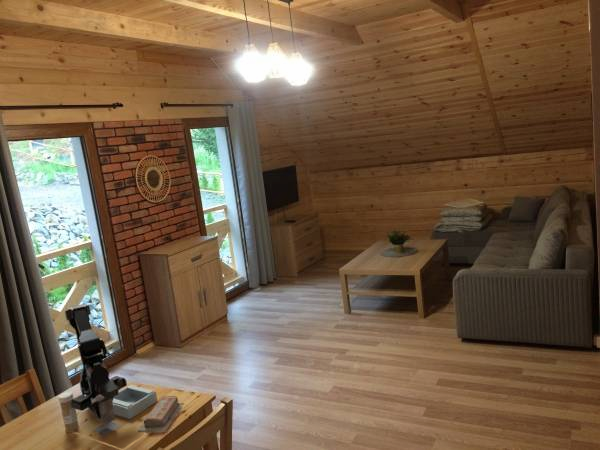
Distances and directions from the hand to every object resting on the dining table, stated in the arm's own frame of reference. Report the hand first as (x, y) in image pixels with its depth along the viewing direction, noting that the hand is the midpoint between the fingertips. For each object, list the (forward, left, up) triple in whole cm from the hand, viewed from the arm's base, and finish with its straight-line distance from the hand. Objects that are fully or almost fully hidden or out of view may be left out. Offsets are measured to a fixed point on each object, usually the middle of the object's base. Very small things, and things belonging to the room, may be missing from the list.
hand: (104, 415), depth 182 cm
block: (0, 0, -2) cm, 2 cm away
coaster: (0, 0, -6) cm, 6 cm away
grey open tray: (-4, +14, -6) cm, 15 cm away
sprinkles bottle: (-12, -5, -6) cm, 15 cm away
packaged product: (+14, +13, -6) cm, 20 cm away
